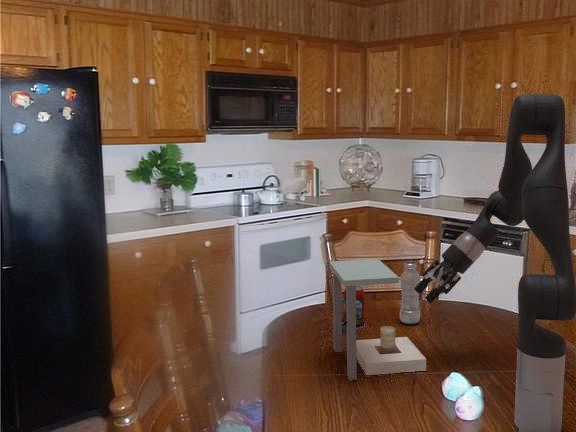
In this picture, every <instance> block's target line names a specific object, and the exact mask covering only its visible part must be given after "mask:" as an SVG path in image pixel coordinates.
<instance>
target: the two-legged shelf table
mask: <svg viewBox="0 0 576 432" xmlns="http://www.w3.org/2000/svg"><path fill="white" fill-rule="evenodd" d="M328 267H329V268H330V270H331V271H332V303H333V304H332V312H333V313H332V315H333V316H332V318H333V319H332V321H333V325H332V327H333V352H334V351H335V352H342V353H343V320H342V319H343V318H342V317H343V313H342V312H343V311H342V309H343V308H342V307H343V306H342V305H343V304H342V286H343V287H345V289H346V309H347V323H346V370H347V371H346V377H347V376H348V378H347V380H348V379H358V378H357V370H358V369H357V363H358V361H357V359H356V340H357V326H356V286H373V285H375V286H377V285H389V284H390V285H392V284H400V276H398V274H396V273H395V272H394V271H393V270H392V269H390V267H388V266H387V265H386V264H384V262H383V261H381V260H380V259H379V258H367V259H349V260H330V261H328ZM335 352H334V353H335Z"/></svg>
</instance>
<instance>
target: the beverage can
mask: <svg viewBox="0 0 576 432" xmlns="http://www.w3.org/2000/svg"><path fill="white" fill-rule="evenodd" d="M365 297H366V292H365V291H364V289H363V286H362V285H360V286H356V320H361V321H362V322H363V324H364V323H366V322H365V321H366V320H365V319H366V312H365V311H366V299H365ZM346 321H347V309H346V288H345V289H344V290H343V322H344V323H345V322H346Z"/></svg>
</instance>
